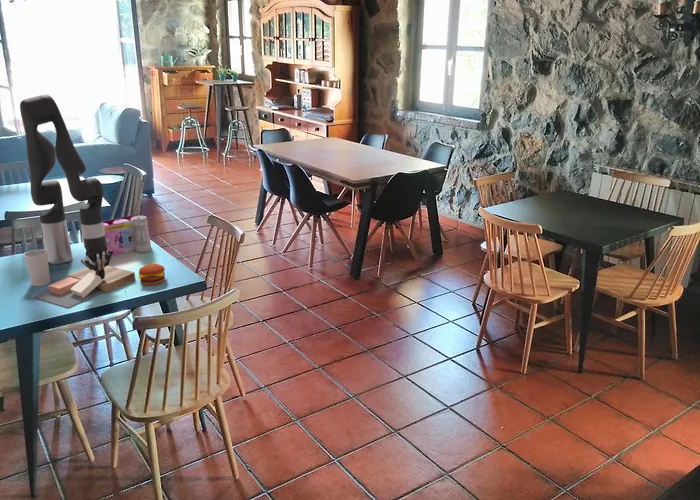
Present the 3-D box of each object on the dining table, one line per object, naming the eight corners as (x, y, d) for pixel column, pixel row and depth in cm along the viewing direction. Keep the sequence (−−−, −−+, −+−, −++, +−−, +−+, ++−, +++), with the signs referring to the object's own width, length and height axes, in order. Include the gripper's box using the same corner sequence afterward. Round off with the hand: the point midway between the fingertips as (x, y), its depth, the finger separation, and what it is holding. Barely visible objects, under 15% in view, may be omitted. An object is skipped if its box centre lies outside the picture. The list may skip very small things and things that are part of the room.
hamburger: (139, 287, 222) (137, 271, 220) (141, 278, 231) (138, 262, 228) (166, 285, 224) (164, 268, 222) (166, 275, 233) (164, 259, 231)
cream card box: (73, 293, 216) (70, 288, 214) (92, 277, 221) (89, 272, 220) (83, 297, 213) (80, 292, 211) (102, 281, 218) (99, 276, 217)
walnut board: (68, 282, 226) (67, 275, 225) (99, 270, 238) (97, 263, 237) (105, 293, 217) (104, 285, 216) (135, 279, 229) (134, 272, 228)
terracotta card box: (49, 291, 218) (48, 285, 217) (71, 283, 225) (69, 276, 224) (60, 295, 215) (59, 288, 214) (81, 286, 222) (80, 279, 222)
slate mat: (32, 297, 214) (32, 296, 214) (68, 282, 226) (68, 281, 226) (68, 308, 205) (68, 307, 205) (103, 292, 218) (103, 291, 218)
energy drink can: (152, 248, 261) (148, 215, 256) (148, 253, 255) (144, 219, 250) (138, 248, 261) (133, 215, 256) (134, 253, 255) (129, 220, 250)
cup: (57, 280, 228) (52, 250, 224) (41, 288, 221) (35, 257, 217) (41, 277, 231) (35, 248, 227) (24, 285, 224) (18, 255, 220)
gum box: (147, 241, 270) (143, 212, 265) (154, 246, 264) (150, 216, 259) (92, 254, 255) (87, 223, 250) (99, 259, 249) (94, 228, 245)
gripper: (101, 227, 222) (108, 271, 228) (71, 238, 211) (78, 283, 217) (116, 230, 218) (122, 274, 224) (85, 241, 207) (93, 287, 213)
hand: (100, 278), depth 220 cm, fingers closed
